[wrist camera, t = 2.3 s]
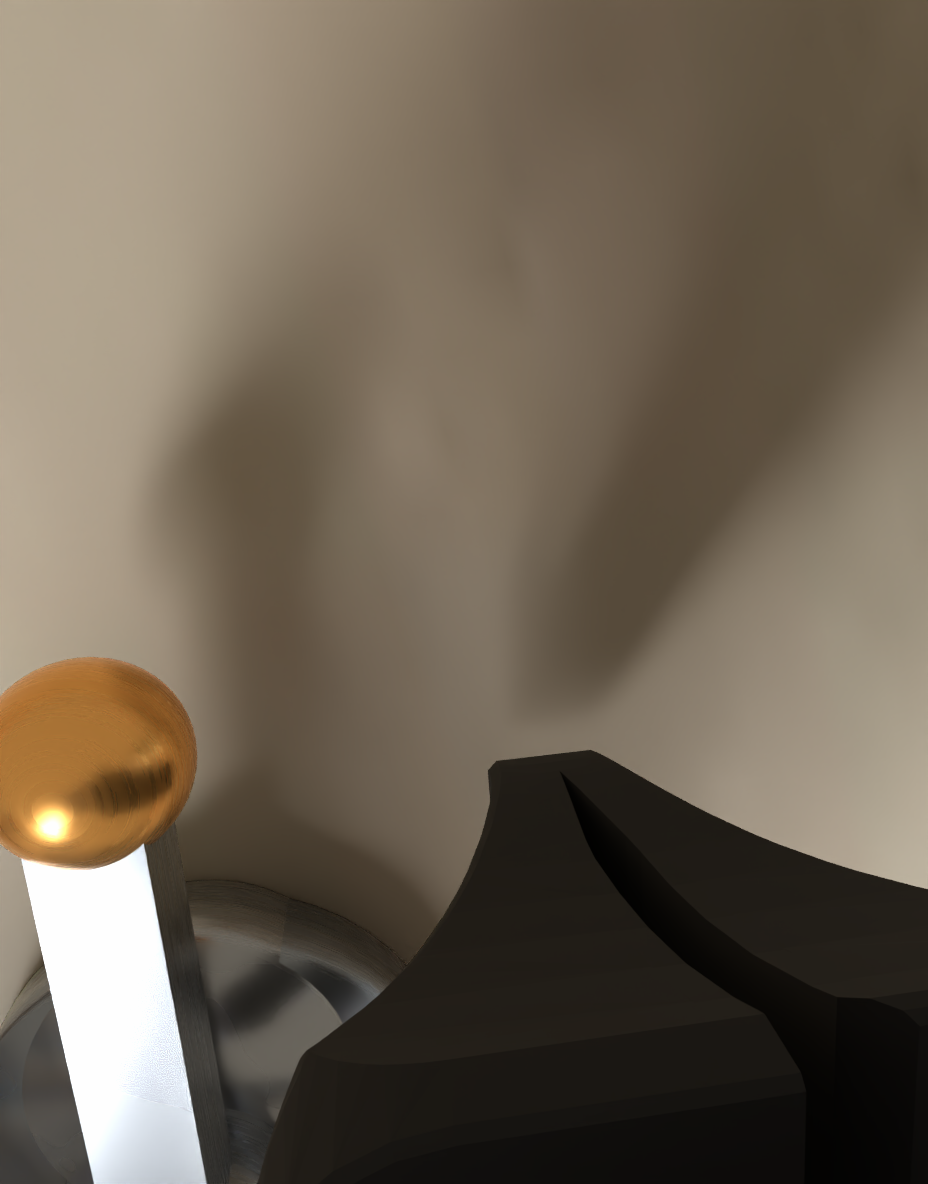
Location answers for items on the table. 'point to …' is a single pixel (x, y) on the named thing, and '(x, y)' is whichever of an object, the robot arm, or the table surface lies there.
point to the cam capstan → (147, 952)
